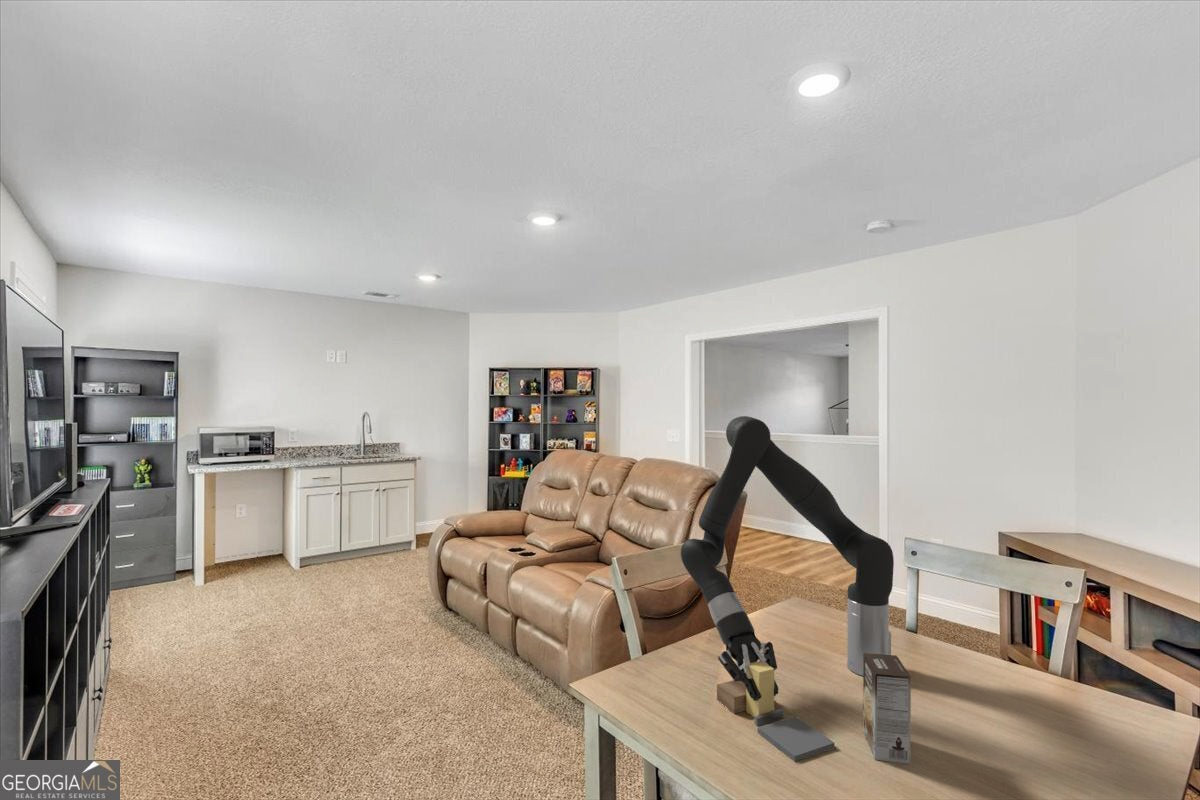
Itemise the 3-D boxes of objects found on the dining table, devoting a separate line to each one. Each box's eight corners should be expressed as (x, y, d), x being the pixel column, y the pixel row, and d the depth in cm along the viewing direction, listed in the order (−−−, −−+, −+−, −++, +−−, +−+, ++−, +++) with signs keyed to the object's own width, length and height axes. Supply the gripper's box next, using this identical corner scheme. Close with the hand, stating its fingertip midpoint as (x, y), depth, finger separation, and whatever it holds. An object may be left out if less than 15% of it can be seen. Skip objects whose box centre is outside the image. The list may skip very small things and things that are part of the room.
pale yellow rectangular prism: (761, 707, 121) (761, 660, 121) (774, 716, 117) (774, 668, 117) (746, 711, 119) (746, 664, 119) (758, 721, 116) (759, 672, 116)
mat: (795, 720, 116) (795, 716, 116) (834, 747, 107) (834, 742, 107) (757, 732, 112) (757, 727, 112) (794, 761, 103) (794, 756, 103)
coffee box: (861, 732, 112) (861, 651, 112) (896, 736, 111) (896, 654, 111) (874, 760, 103) (874, 672, 103) (912, 765, 102) (912, 676, 102)
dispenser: (752, 691, 128) (752, 675, 128) (789, 716, 118) (789, 699, 118) (716, 700, 124) (716, 684, 124) (751, 727, 113) (751, 710, 113)
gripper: (711, 615, 122) (748, 697, 111) (762, 605, 128) (802, 683, 117) (697, 630, 127) (730, 711, 116) (747, 620, 133) (784, 696, 122)
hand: (766, 696), depth 117 cm, fingers closed on pale yellow rectangular prism, 4 cm apart
